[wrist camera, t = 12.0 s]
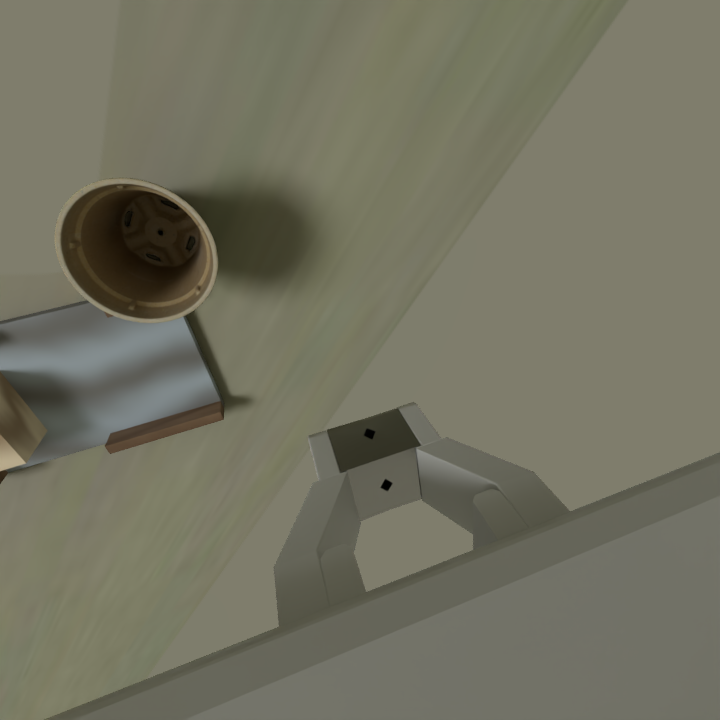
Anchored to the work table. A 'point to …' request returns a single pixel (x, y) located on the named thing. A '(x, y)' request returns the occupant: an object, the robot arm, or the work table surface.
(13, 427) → the beech block
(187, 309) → the flower pot
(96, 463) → the work table surface
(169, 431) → the channel
